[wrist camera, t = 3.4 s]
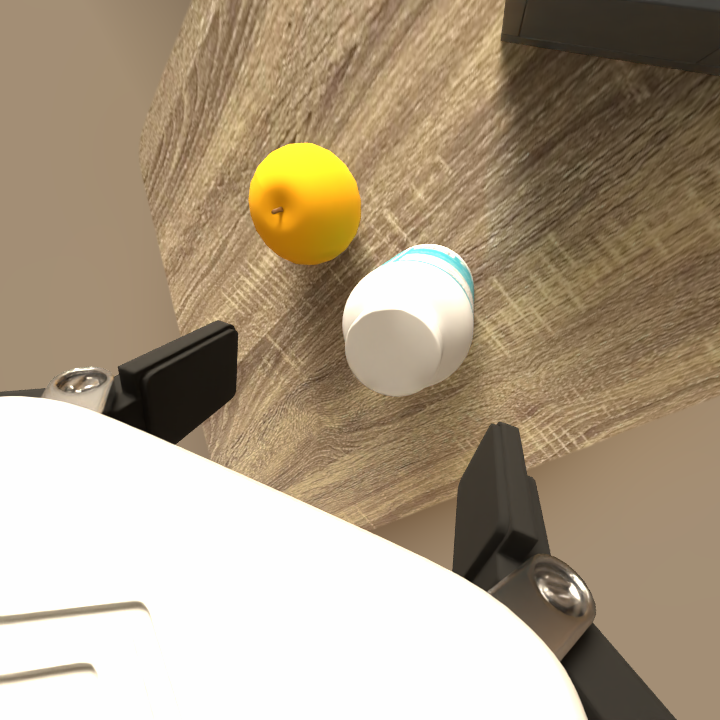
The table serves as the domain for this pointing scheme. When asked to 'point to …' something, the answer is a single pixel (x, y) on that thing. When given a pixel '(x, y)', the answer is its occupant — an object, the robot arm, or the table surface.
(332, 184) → the apple
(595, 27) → the divided storage tray
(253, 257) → the table surface
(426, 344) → the pill bottle
